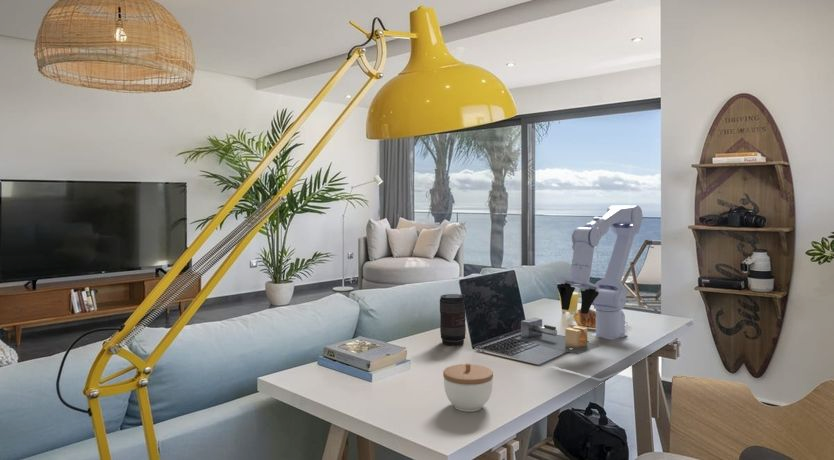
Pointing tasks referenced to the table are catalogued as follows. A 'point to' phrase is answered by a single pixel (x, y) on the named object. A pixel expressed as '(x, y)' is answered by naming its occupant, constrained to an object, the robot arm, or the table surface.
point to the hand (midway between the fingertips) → (574, 311)
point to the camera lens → (452, 319)
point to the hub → (576, 337)
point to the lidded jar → (468, 386)
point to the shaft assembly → (536, 328)
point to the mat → (556, 343)
